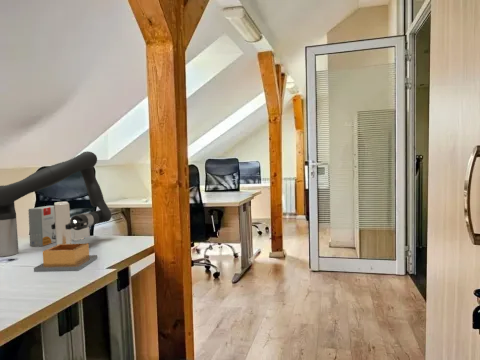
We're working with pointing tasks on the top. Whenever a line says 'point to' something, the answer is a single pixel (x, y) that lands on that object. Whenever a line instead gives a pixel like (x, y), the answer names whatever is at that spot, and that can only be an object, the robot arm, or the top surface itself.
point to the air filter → (62, 223)
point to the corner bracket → (79, 233)
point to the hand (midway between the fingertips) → (60, 227)
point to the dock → (66, 258)
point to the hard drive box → (41, 226)
